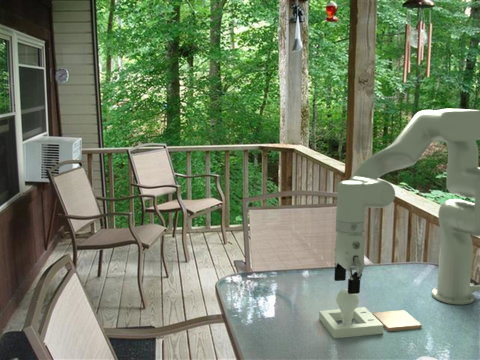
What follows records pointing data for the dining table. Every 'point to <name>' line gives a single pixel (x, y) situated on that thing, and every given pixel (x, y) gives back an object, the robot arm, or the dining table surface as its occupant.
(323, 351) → the dining table surface
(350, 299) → the lightbulb
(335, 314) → the slotted square frame
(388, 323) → the tile
